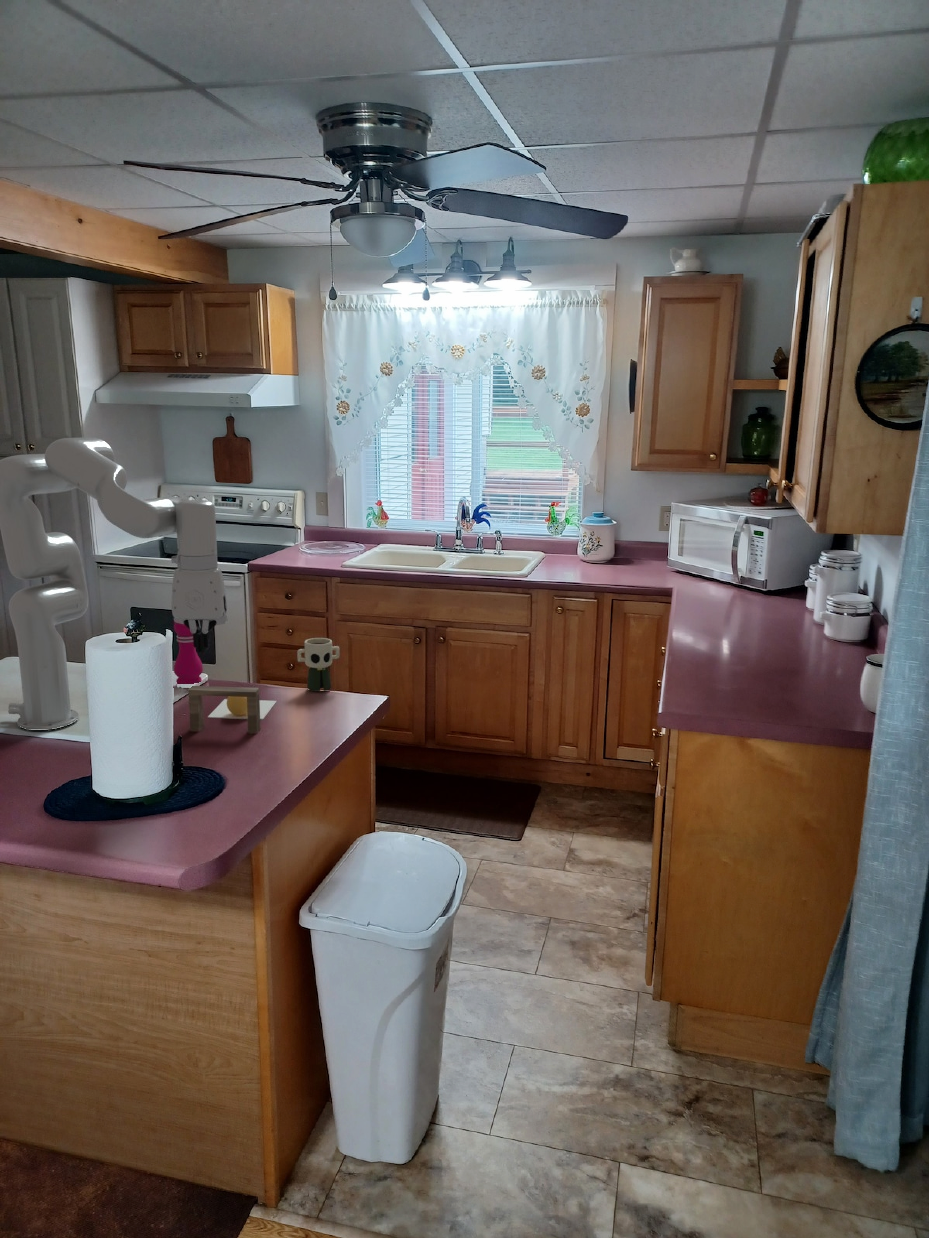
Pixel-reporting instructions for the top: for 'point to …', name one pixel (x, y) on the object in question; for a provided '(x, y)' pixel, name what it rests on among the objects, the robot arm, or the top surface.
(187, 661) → the pepper mill
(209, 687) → the bridge
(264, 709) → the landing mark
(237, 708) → the ball
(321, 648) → the character mug
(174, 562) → the robot arm
